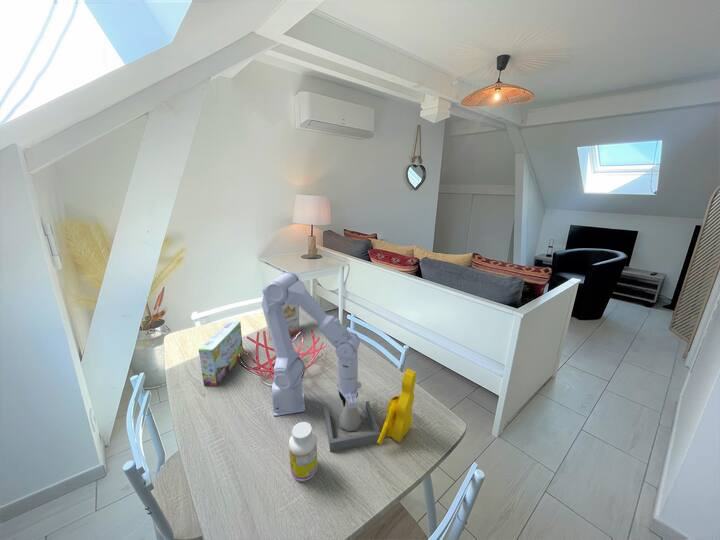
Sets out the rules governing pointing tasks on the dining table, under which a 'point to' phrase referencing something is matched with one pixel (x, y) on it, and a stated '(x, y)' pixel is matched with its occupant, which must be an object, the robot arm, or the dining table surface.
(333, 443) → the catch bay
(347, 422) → the flask
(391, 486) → the dining table surface
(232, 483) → the dining table surface
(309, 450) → the supplement bottle
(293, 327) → the cracker box
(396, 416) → the figure statuette
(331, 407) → the dining table surface
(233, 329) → the snack box
